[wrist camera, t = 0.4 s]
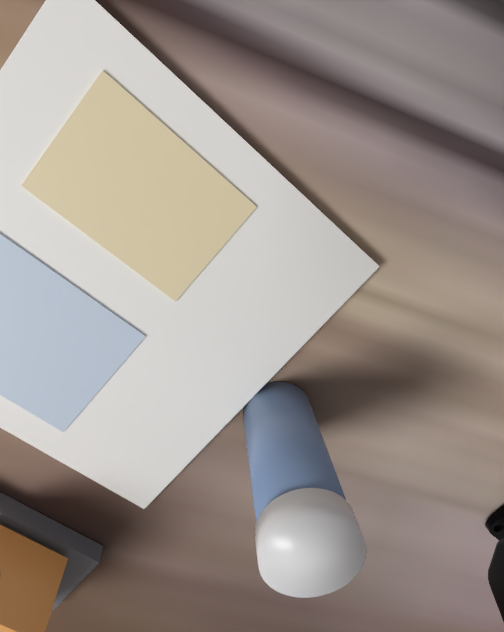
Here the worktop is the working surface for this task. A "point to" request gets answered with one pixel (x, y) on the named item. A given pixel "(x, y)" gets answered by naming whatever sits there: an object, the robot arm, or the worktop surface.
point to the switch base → (53, 542)
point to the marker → (298, 498)
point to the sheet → (142, 257)
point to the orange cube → (27, 582)
